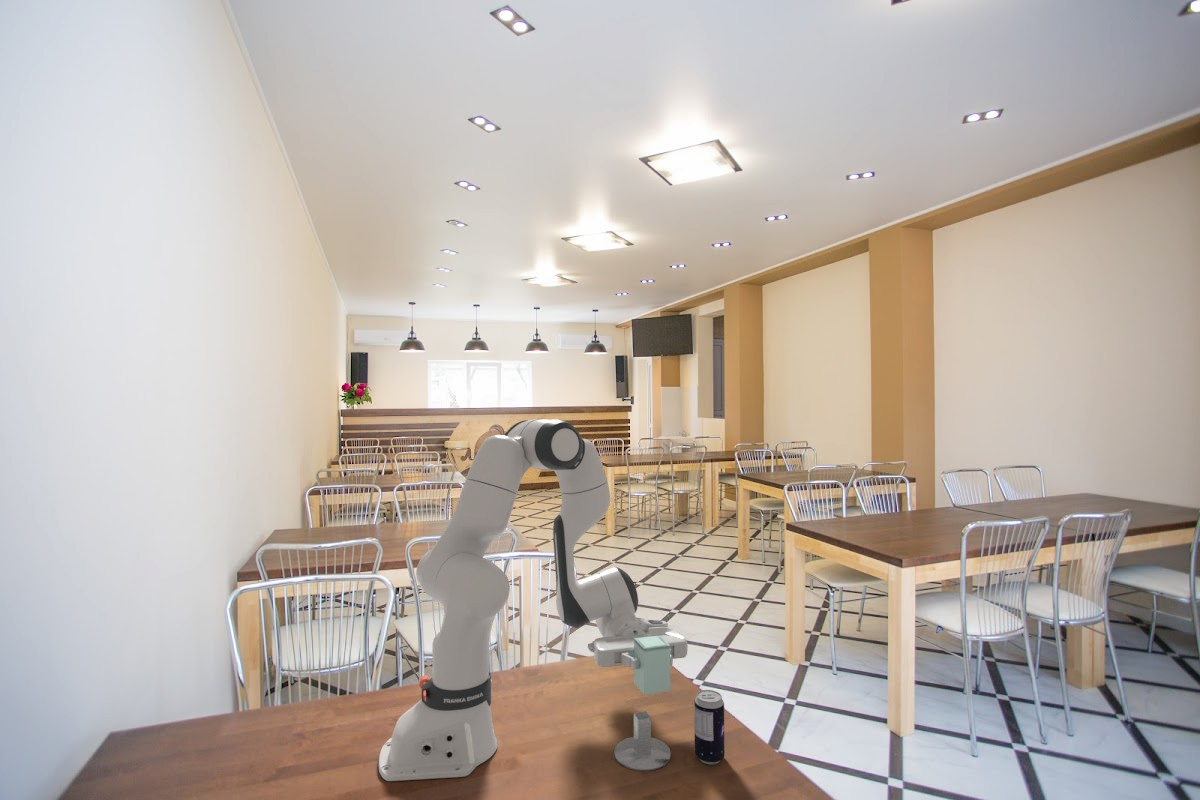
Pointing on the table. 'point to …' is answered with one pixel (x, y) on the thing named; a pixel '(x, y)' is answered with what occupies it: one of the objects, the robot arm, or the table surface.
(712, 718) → the beverage can
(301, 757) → the table surface
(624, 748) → the post
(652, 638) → the mint green lidded box
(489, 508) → the robot arm
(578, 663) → the table surface
